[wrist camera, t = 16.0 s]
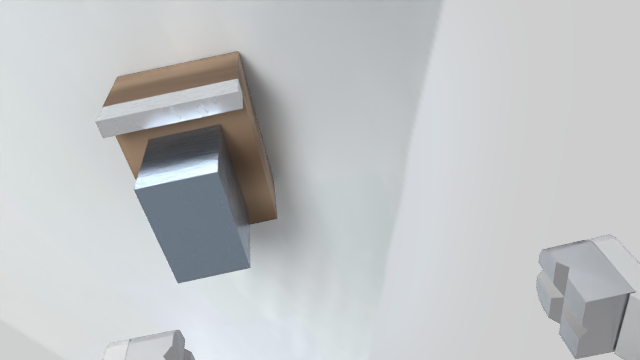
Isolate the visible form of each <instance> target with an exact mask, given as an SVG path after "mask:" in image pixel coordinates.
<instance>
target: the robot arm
mask: <svg viewBox="0 0 640 360" xmlns="http://www.w3.org/2000/svg"><path fill="white" fill-rule="evenodd" d="M539 263H540V265H541V267H542V268H543V271H542V272H541V273H540V274H539V275H538V276H537V292H538V296H539V300H540V302H541V305H542V307H543V309H544V311H545V312H546V314H547V316H548V317H549V318H551V319H552V320H554V321H556V322H558V323H560V331H559V334H560V336H561V338H562V339H563V341H564V342H565V344H566V345H567V347H568V348H569V350H570V352H571V353H572V355H573V356H574V357H575V359H578V358H583V357H588V356H593V355H599V354H604V353H609V352H614V351H615V354H616V355H618V356H619V357H621V358H622V359H624V360H640V263H639V262H638V261H637V260H636V259H635V258H634V256H633V255H632V254H631V253H630V252H629V251H628V250H627V249H626V248H625V247H624V246H623V245H622V244H621V243H620V242H619V241H618V239H616V237H614V236H612V235H606V236H601V237H597V238H592V239H588V240H582V241H578V242H573V243H570V244H565V245H561V246H556V247H552V248H548V249H543V250H542V251H541V253H540V255H539ZM184 345H185V339H184V337H183V335H182V333H181V332H180V330H174V331H169V332H164V333H158V334H153V335H148V336H143V337H137V338H132V339H129V340H123V341H118V342H113V343H110V344H109V345H108V347H107V348H106V350H105V352H104V356H103V360H195V359H194V356H193V354H192V352H190V351H188V350H186V349H184Z"/></svg>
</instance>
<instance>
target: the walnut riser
mask: <svg viewBox="0 0 640 360" xmlns="http://www.w3.org/2000/svg"><path fill="white" fill-rule="evenodd" d="M95 122H96V124H97V126H98V128H99V131H100V133H101V135H102V137H103V138H106V137H111V136H116V138H117V140H118V142H119V144H120V147H121V149H122V151H123V153H124V155H125V157H126V160H127V162H128V164H129V166H130V168H131V170H132V173H133V175H134V177H135V179H136V181H137V177H138V174H139V170H140V167H141V164H142V160H143V157H144V153H145V150H146V147H147V143H148V140H149V139H152V138H157V137H161V136H166V135H171V134H175V133H180V132H185V131H190V130H194V129H199V128H204V127H208V126H213V125H218V124H221V127H222V130H223V133H224V137H225V140H226V143H227V146H228V149H229V152H230V155H231V158H232V162H233V165H234V168H235V171H236V174H237V177H238V180H239V183H240V187H241V190H242V193H243V196H244V199H245V202H246V205H247V208H248V212H249V225H250V224H254V223H259V222H264V221H268V220H273V219H277V210H276V199H275V189H274V181H273V178H272V174H271V170H270V167H269V163H268V159H267V156H266V152H265V148H264V144H263V141H262V137H261V133H260V130H259V126H258V122H257V119H256V115H255V111H254V108H253V104H252V100H251V97H250V93H249V89H248V86H247V82H246V78H245V75H244V71H243V67H242V64H241V60H240V56H239V52H233V53H228V54H224V55H219V56H214V57H209V58H205V59H200V60H195V61H190V62H186V63H181V64H176V65H172V66H167V67H162V68H157V69H153V70H148V71H143V72H138V73H134V74H129V75H124V76H119V77H117V79H116V81H115V83H114V85H113V87H112V89H111V91H110V93H109V95H108V97H107V99H106V101H105V103H104V105H103V107H102V109H101V111H100V113H99V115H98V117H97V119H96V121H95Z"/></svg>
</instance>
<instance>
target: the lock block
mask: <svg viewBox="0 0 640 360" xmlns="http://www.w3.org/2000/svg"><path fill="white" fill-rule="evenodd" d="M134 191H135V193H136V195H137V197H138V199H139V202H140V204H141V206H142V208H143V210H144V212H145V214H146V216H147V219H148V221H149V223H150V225H151V227H152V229H153V231H154V233H155V236H156V238H157V240H158V242H159V244H160V246H161V248H162V250H163V253H164V255H165V257H166V259H167V261H168V263H169V265H170V267H171V270H172V272H173V274H174V276H175V278H176V280H177V282H178V283H182V282H187V281H191V280H196V279H200V278H205V277H210V276H214V275H219V274H224V273H228V272H233V271H238V270H242V269H247V268H250V229H249V212H248V208H247V205H246V202H245V199H244V196H243V193H242V190H241V187H240V183H239V180H238V177H237V174H236V171H235V168H234V165H233V162H232V158H231V155H230V152H229V149H228V146H227V143H226V140H225V137H224V133H223V130H222V127H221V124H218V125H213V126H208V127H204V128H199V129H194V130H190V131H185V132H180V133H175V134H171V135H166V136H161V137H157V138H152V139H149V140H148V143H147V147H146V150H145V153H144V157H143V160H142V164H141V167H140V170H139V174H138V177H137V181H136V184H135V187H134Z"/></svg>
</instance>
